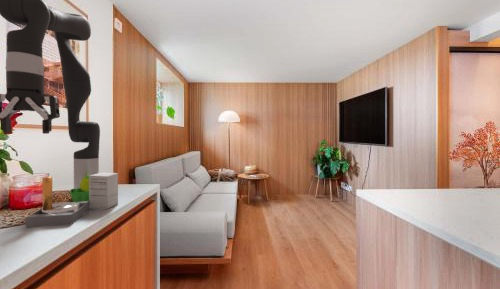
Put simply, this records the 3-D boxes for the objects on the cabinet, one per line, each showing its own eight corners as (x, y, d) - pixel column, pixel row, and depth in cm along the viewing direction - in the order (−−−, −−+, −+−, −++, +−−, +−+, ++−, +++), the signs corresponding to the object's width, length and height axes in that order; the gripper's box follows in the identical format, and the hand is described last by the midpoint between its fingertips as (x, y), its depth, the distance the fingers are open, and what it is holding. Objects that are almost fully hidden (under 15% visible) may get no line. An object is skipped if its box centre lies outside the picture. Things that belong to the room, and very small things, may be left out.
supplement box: (100, 203, 100) (100, 172, 99) (118, 203, 99) (118, 172, 99) (88, 208, 92) (88, 175, 92) (107, 209, 92) (107, 175, 92)
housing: (51, 211, 88) (51, 197, 88) (89, 208, 92) (89, 195, 92) (25, 227, 73) (25, 210, 73) (72, 224, 76) (72, 208, 76)
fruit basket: (103, 197, 108) (103, 172, 107) (103, 202, 100) (103, 175, 100) (71, 201, 102) (71, 174, 101) (69, 206, 94) (69, 177, 94)
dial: (67, 206, 89) (67, 172, 88) (86, 209, 85) (86, 174, 84) (34, 214, 79) (33, 176, 79) (52, 218, 76) (52, 179, 75)
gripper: (63, 78, 72) (63, 133, 73) (1, 73, 67) (3, 132, 68) (51, 72, 65) (52, 134, 65) (-19, 66, 60) (-17, 132, 61)
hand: (27, 133), depth 67 cm, fingers open, 8 cm apart
